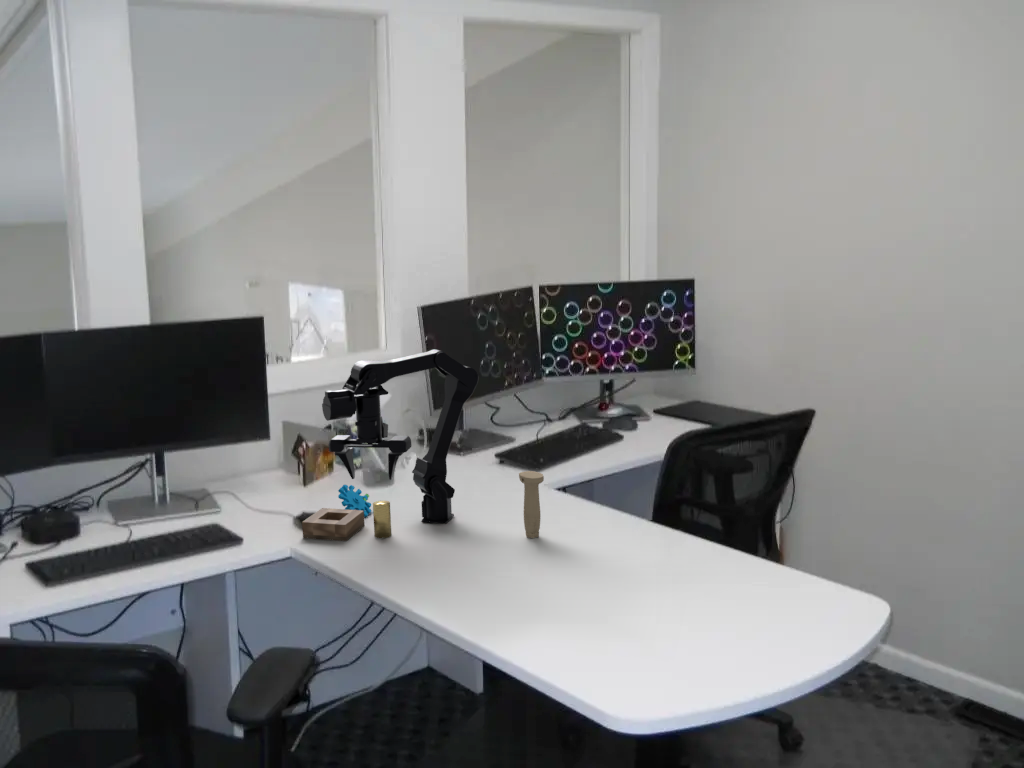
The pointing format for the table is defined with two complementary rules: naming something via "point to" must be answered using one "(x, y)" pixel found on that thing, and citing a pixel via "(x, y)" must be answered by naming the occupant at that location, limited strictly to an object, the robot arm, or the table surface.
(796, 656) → the table surface
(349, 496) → the gear
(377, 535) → the pin
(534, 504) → the handle
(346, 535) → the socket block
